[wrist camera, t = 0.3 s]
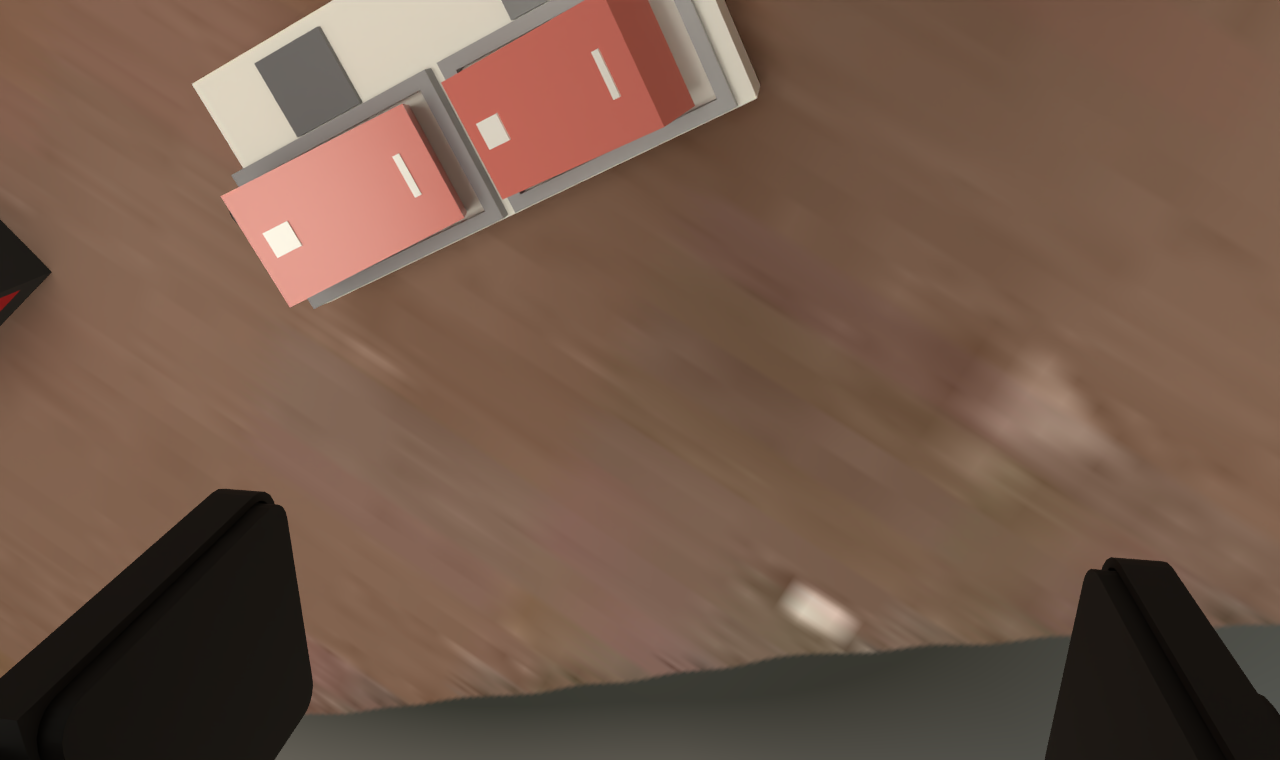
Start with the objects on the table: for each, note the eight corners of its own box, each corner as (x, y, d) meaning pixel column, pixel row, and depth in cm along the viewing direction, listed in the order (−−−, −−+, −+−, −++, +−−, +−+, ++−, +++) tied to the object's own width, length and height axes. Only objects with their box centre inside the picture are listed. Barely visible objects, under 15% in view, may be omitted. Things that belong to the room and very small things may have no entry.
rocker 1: (240, 191, 40) (219, 196, 37) (409, 105, 40) (401, 103, 37) (304, 294, 41) (289, 307, 38) (466, 211, 41) (464, 218, 39)
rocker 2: (482, 65, 39) (439, 83, 37) (637, -23, 34) (600, -10, 32) (539, 176, 40) (501, 200, 38) (695, 105, 36) (663, 127, 34)
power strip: (189, 109, 47) (113, 126, 42) (655, -163, 39) (635, -184, 34) (308, 302, 50) (251, 340, 45) (760, 85, 43) (756, 100, 37)
